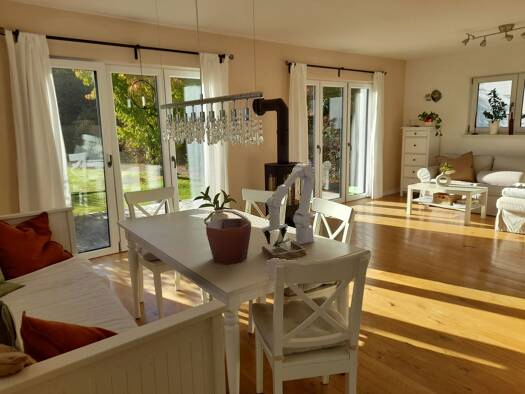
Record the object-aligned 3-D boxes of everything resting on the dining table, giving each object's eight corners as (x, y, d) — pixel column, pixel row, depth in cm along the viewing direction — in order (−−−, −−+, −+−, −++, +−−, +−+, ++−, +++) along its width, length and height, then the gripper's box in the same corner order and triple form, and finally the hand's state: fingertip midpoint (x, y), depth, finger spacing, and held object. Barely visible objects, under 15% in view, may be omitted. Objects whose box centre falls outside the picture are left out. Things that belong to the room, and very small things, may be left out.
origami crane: (266, 237, 204) (276, 227, 197) (283, 241, 208) (292, 232, 202) (268, 254, 197) (278, 244, 190) (285, 258, 201) (295, 249, 195)
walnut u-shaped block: (292, 246, 204) (292, 241, 204) (305, 254, 191) (305, 249, 190) (262, 251, 198) (261, 246, 197) (273, 260, 184) (273, 255, 183)
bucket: (197, 261, 188) (193, 213, 183) (225, 248, 206) (222, 204, 201) (236, 270, 174) (233, 218, 169) (262, 255, 192) (260, 208, 187)
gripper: (283, 215, 206) (284, 238, 209) (259, 218, 201) (260, 242, 204) (289, 217, 200) (289, 242, 203) (264, 221, 195) (265, 246, 197)
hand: (275, 242), depth 203 cm, fingers open, 7 cm apart
